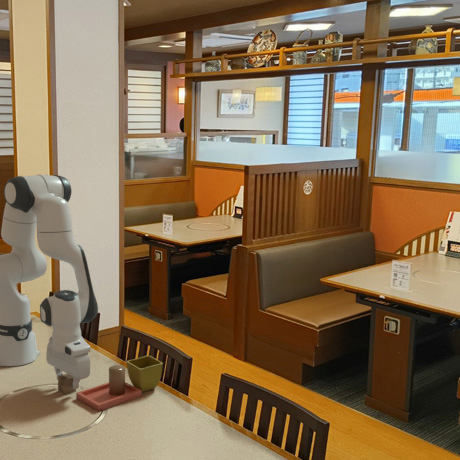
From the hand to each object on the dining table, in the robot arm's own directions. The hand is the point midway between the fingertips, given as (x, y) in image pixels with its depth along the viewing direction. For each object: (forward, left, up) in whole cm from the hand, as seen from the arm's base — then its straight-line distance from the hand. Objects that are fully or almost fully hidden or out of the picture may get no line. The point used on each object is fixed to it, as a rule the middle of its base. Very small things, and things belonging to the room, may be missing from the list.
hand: (67, 384), depth 195 cm
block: (0, 0, -2) cm, 2 cm away
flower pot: (+15, +19, -3) cm, 24 cm away
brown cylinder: (+13, +10, -2) cm, 16 cm away
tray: (+13, +7, -2) cm, 15 cm away
